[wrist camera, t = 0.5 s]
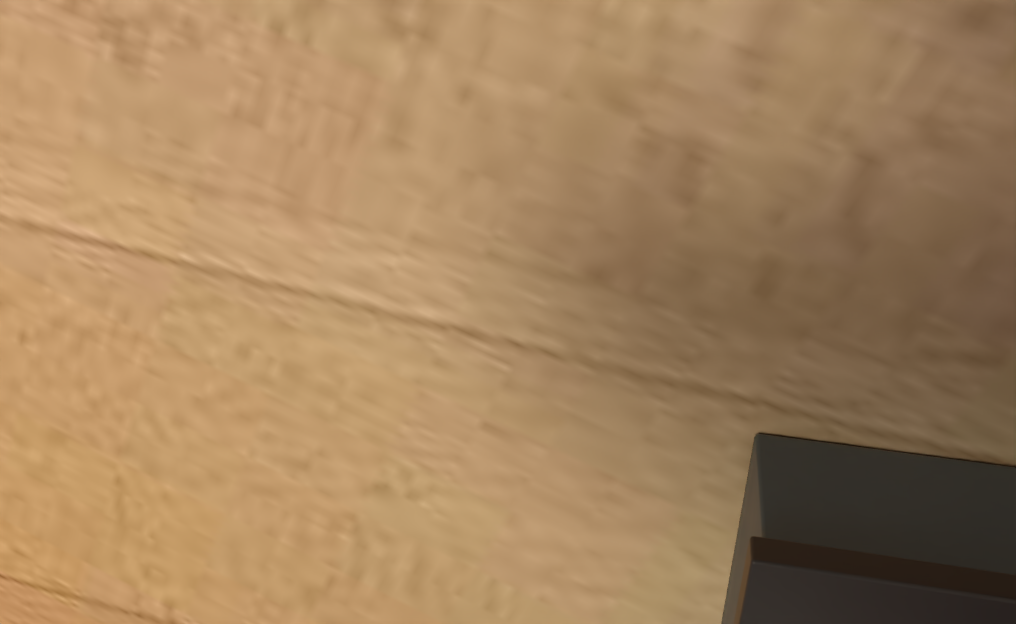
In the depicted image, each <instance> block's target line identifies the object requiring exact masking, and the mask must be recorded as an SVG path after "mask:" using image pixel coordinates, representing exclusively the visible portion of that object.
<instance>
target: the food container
mask: <svg viewBox="0 0 1016 624" xmlns="http://www.w3.org/2000/svg"><path fill="white" fill-rule="evenodd" d="M721 624H1016V468H1015V467H1008V466H1000V465H993V464H985V463H977V462H970V461H962V460H955V459H947V458H939V457H932V456H924V455H917V454H909V453H901V452H894V451H886V450H879V449H871V448H863V447H856V446H848V445H841V444H833V443H825V442H818V441H810V440H802V439H795V438H787V437H780V436H772V435H764V434H756V436H755V438H754V444H753V449H752V455H751V460H750V466H749V472H748V477H747V483H746V488H745V494H744V500H743V505H742V511H741V517H740V522H739V528H738V533H737V539H736V545H735V550H734V556H733V561H732V567H731V573H730V578H729V584H728V589H727V595H726V601H725V606H724V612H723V617H722V623H721Z"/></svg>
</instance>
